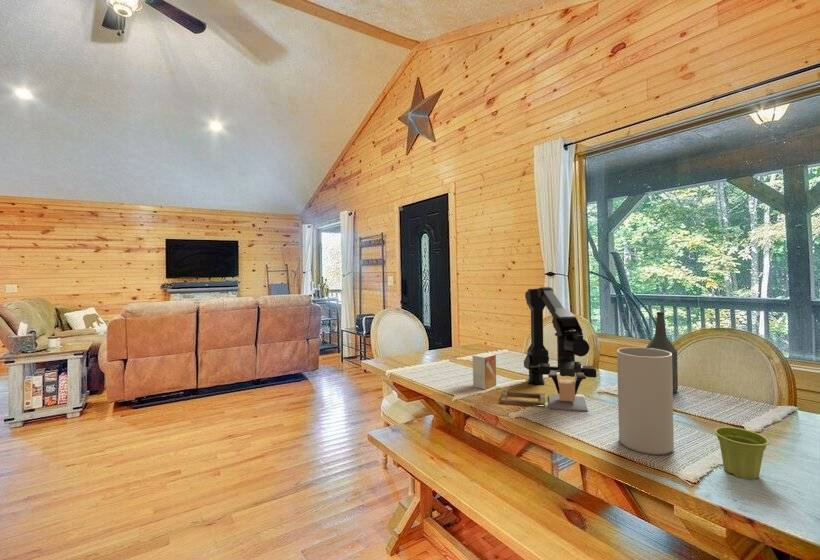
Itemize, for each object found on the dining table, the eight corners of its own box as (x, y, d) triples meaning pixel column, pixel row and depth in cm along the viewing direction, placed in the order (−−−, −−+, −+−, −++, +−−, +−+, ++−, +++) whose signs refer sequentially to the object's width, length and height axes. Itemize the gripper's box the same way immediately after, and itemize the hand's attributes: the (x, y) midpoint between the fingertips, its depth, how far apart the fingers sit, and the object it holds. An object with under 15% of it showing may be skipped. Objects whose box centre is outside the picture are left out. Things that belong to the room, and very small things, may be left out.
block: (559, 395, 140) (558, 379, 140) (574, 396, 138) (573, 380, 138) (559, 400, 135) (559, 383, 135) (575, 401, 133) (574, 384, 133)
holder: (503, 393, 149) (503, 390, 149) (544, 396, 144) (544, 393, 144) (500, 403, 139) (500, 400, 139) (544, 406, 134) (544, 403, 134)
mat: (549, 395, 145) (549, 394, 145) (583, 398, 141) (583, 396, 141) (549, 408, 132) (549, 407, 132) (587, 411, 128) (587, 410, 128)
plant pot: (758, 466, 91) (758, 430, 90) (777, 487, 82) (777, 447, 82) (709, 459, 94) (709, 424, 94) (723, 479, 86) (722, 440, 86)
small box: (485, 389, 155) (484, 357, 155) (472, 386, 160) (471, 355, 159) (497, 385, 161) (496, 354, 160) (484, 382, 165) (483, 352, 165)
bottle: (677, 387, 150) (676, 310, 149) (678, 395, 142) (676, 313, 141) (646, 384, 156) (645, 310, 155) (645, 391, 147) (643, 312, 147)
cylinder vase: (628, 431, 112) (627, 345, 112) (679, 444, 103) (678, 351, 102) (611, 445, 104) (609, 352, 103) (665, 461, 94) (663, 359, 94)
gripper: (537, 354, 132) (538, 399, 132) (598, 356, 126) (599, 404, 126) (538, 347, 142) (539, 389, 143) (593, 349, 136) (594, 393, 136)
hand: (566, 394), depth 137 cm, fingers closed on block, 5 cm apart
